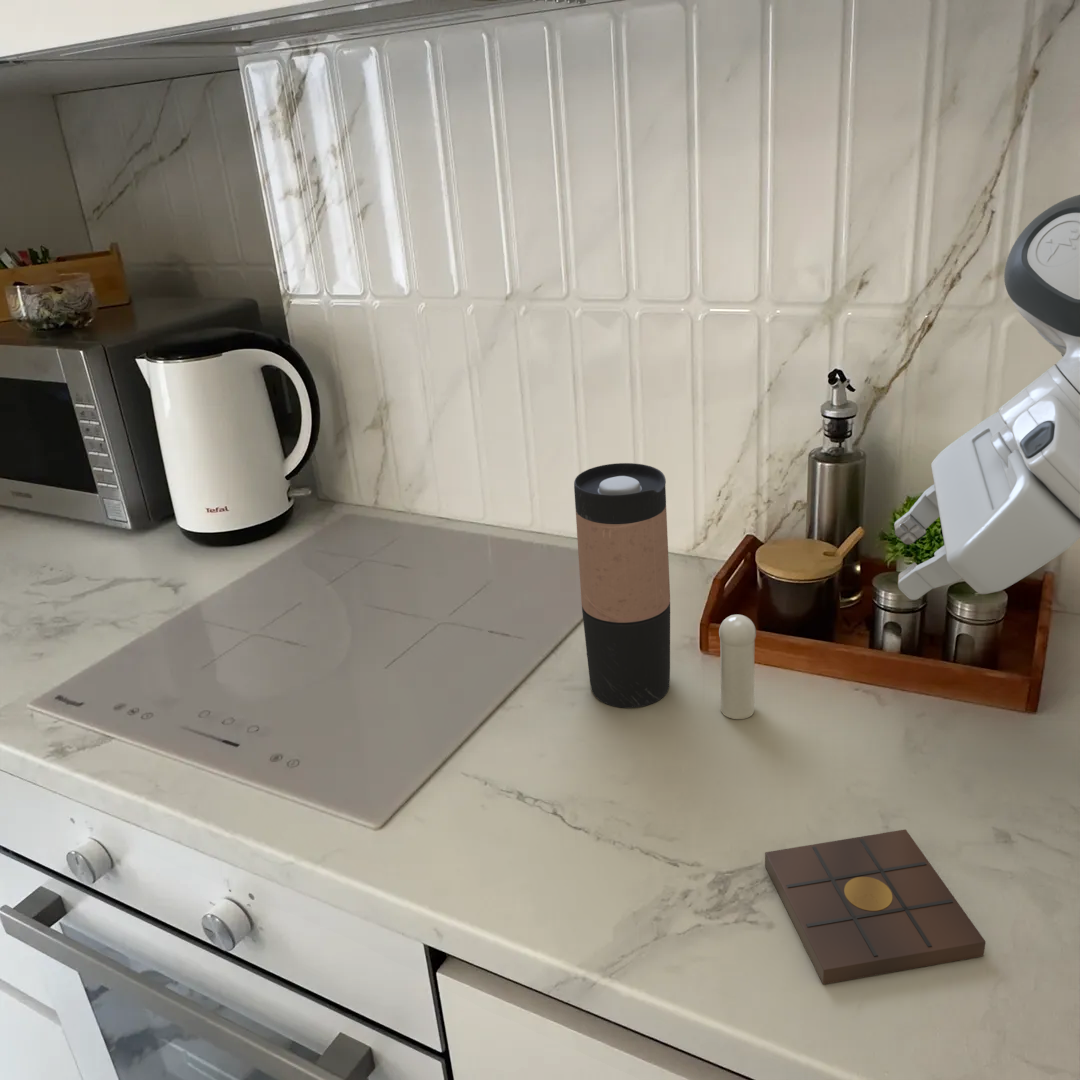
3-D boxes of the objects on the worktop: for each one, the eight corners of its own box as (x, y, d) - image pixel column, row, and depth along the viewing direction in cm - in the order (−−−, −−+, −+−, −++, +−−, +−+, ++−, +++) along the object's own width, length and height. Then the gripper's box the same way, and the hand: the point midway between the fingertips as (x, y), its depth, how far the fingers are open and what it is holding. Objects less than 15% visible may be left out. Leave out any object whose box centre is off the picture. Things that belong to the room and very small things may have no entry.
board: (904, 842, 67) (905, 828, 67) (983, 956, 58) (986, 940, 58) (764, 865, 66) (764, 851, 66) (823, 985, 57) (823, 969, 57)
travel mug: (576, 674, 90) (560, 472, 82) (652, 656, 92) (644, 456, 84) (605, 718, 84) (591, 502, 75) (687, 697, 85) (681, 484, 77)
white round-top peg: (748, 697, 85) (749, 605, 81) (760, 717, 82) (761, 622, 78) (715, 702, 84) (714, 610, 81) (725, 722, 82) (725, 628, 78)
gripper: (1011, 369, 76) (871, 483, 83) (1056, 458, 58) (873, 594, 65) (1067, 425, 76) (923, 533, 83) (1128, 530, 58) (939, 657, 65)
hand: (901, 561), depth 74 cm, fingers open, 8 cm apart
